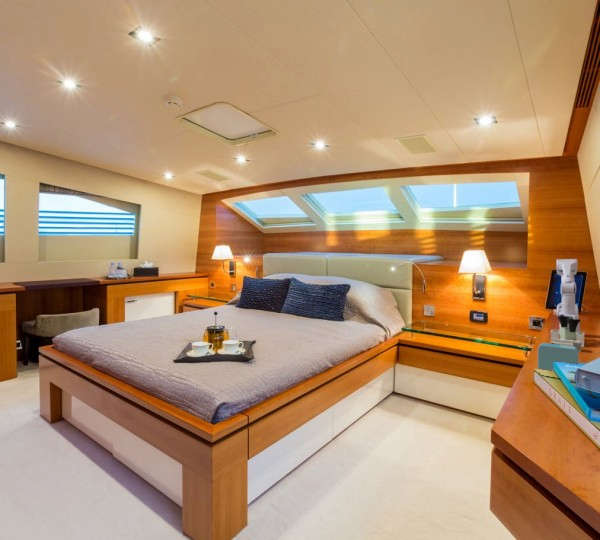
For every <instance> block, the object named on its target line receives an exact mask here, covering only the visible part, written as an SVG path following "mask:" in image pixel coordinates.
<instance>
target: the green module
mask: <svg viewBox="0 0 600 540" xmlns="http://www.w3.org/2000/svg"><path fill="white" fill-rule="evenodd" d="M559 333H560V335H559V339H564V340H574V341H576V333H577V329H576V331H575V332H570V330H569V327H560V326H559Z"/></svg>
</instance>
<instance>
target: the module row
mask: <svg viewBox="0 0 600 540" xmlns="http://www.w3.org/2000/svg"><path fill="white" fill-rule="evenodd" d="M559 333H560V329H551V330H550V344H551V343H554V344H557V345H566V346H573V342H574V340H564V339H560V335H559ZM576 341H581V342H582V348H584V347H585V332H584V331H580V332H577V333H576Z"/></svg>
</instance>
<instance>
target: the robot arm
mask: <svg viewBox="0 0 600 540" xmlns="http://www.w3.org/2000/svg"><path fill="white" fill-rule="evenodd" d="M578 264H579V263H578V259H577V258H573V259H572V258H569V259H567V258H565V259H559V258H557V259H556V274H557V275H558V276H560V277H561V278H560V279H561V283H560V293H561V302H560V303H558V304H557V306H556V319H558V321H559V328H560V327H569V330H570V332H575V331H576V329H577V332H581V323H580V322H581V319H579V318H580V317H579V307H578V305H577V304H576V293H577V284H576V282H575V275H577V272H578V266H579V265H578ZM559 336H560V332H559Z"/></svg>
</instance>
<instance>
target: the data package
mask: <svg viewBox="0 0 600 540" xmlns="http://www.w3.org/2000/svg"><path fill="white" fill-rule="evenodd" d="M579 353H580V352H579V351H578V349H577V348H576V347H574V346H570V345H561V344H551V343H549V342H548V343H547V342H543V343H540V344H539V346H538V347H537V370H538V369H542V370H549V371H552V370H553V362H565V363H570V364H576V365H577V364H580V363H579V362H580V361H579V359H580V358H579Z"/></svg>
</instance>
